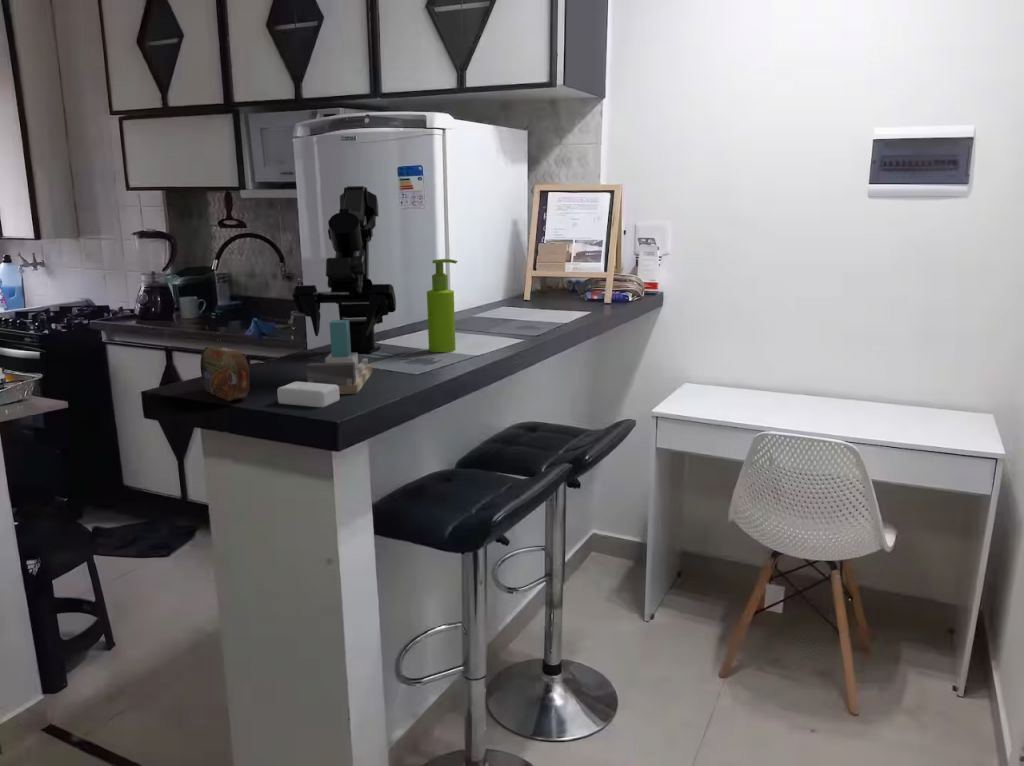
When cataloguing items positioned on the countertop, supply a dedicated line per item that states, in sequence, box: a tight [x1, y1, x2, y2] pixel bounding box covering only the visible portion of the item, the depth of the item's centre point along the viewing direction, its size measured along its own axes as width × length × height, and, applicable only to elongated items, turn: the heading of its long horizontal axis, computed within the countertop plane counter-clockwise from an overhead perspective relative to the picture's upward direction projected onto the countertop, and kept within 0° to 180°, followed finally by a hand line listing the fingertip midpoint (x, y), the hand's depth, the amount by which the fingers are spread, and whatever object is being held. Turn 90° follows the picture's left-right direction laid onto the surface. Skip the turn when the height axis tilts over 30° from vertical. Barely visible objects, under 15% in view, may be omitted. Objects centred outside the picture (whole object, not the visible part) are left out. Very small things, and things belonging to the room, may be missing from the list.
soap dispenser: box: [426, 258, 459, 353], centre depth 167 cm, size 6×7×20 cm
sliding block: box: [324, 319, 359, 368], centre depth 140 cm, size 5×5×9 cm
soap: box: [276, 380, 340, 408], centre depth 126 cm, size 9×6×3 cm, turn 70°
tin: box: [199, 346, 250, 402], centre depth 130 cm, size 15×3×8 cm, turn 43°
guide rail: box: [305, 358, 373, 395], centre depth 139 cm, size 17×9×5 cm, turn 1°
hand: (341, 334), depth 140 cm, fingers open, 9 cm apart
